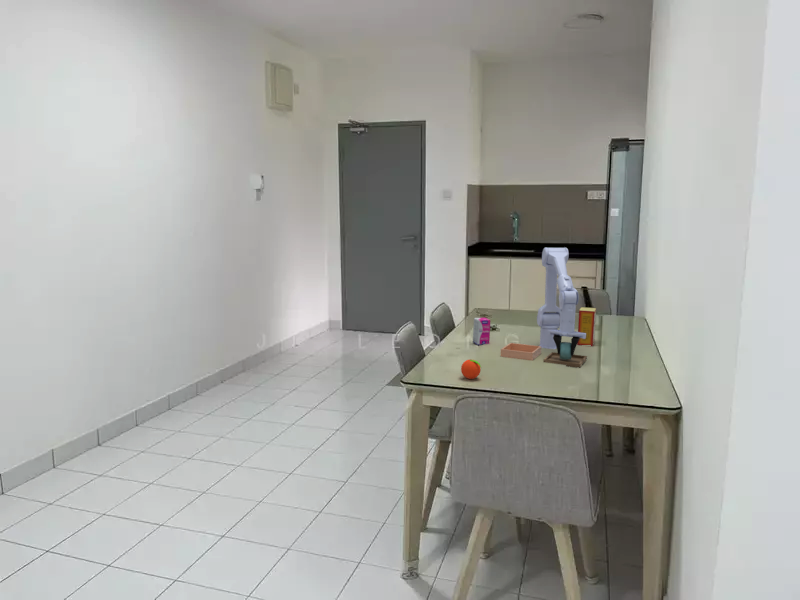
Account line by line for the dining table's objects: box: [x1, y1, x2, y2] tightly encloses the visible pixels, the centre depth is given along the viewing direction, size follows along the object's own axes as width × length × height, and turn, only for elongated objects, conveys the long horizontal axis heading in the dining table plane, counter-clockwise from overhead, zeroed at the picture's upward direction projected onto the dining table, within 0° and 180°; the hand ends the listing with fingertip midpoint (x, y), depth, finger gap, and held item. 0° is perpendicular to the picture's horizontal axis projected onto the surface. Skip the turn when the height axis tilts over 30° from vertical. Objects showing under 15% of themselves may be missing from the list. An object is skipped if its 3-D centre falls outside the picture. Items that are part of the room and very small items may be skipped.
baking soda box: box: [576, 306, 597, 347], centre depth 273 cm, size 10×6×16 cm
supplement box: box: [472, 317, 491, 346], centre depth 271 cm, size 6×6×12 cm
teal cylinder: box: [560, 341, 571, 359], centre depth 241 cm, size 4×4×6 cm
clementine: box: [460, 359, 482, 380], centre depth 216 cm, size 8×7×7 cm
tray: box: [542, 351, 588, 368], centre depth 242 cm, size 14×14×2 cm
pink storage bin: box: [500, 342, 542, 361], centre depth 250 cm, size 13×13×4 cm
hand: (565, 354), depth 241 cm, fingers closed on teal cylinder, 4 cm apart
